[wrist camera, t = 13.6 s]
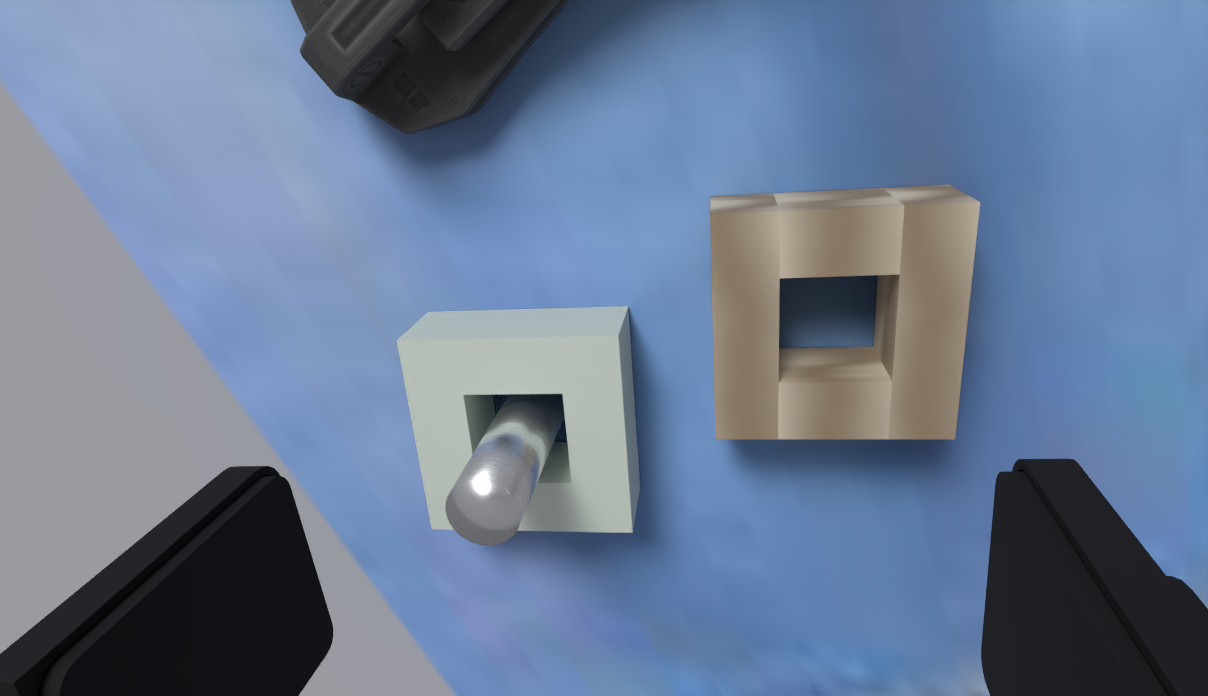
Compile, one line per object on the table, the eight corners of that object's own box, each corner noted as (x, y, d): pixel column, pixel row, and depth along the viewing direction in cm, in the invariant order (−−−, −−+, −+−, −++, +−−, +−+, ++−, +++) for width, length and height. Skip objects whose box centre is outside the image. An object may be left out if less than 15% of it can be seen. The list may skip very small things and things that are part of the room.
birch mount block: (949, 184, 32) (980, 202, 28) (930, 398, 35) (955, 439, 32) (710, 196, 33) (710, 214, 30) (715, 400, 37) (715, 439, 33)
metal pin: (564, 374, 37) (515, 479, 28) (570, 427, 39) (524, 546, 29) (506, 374, 38) (440, 479, 29) (513, 427, 39) (451, 544, 30)
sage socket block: (628, 306, 36) (618, 335, 32) (640, 487, 39) (632, 532, 36) (428, 311, 37) (396, 340, 34) (457, 485, 41) (431, 529, 37)
